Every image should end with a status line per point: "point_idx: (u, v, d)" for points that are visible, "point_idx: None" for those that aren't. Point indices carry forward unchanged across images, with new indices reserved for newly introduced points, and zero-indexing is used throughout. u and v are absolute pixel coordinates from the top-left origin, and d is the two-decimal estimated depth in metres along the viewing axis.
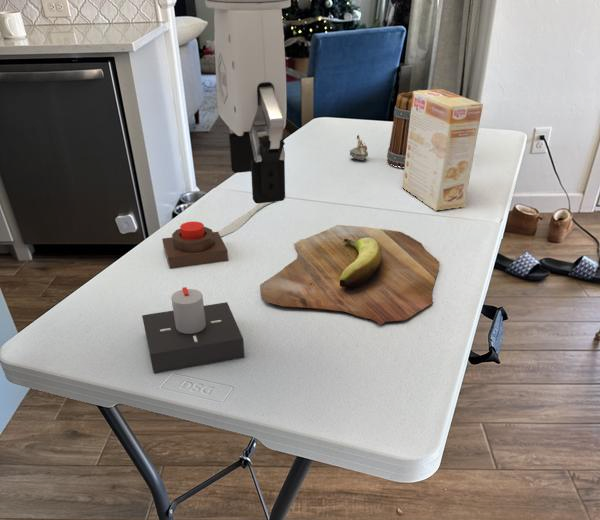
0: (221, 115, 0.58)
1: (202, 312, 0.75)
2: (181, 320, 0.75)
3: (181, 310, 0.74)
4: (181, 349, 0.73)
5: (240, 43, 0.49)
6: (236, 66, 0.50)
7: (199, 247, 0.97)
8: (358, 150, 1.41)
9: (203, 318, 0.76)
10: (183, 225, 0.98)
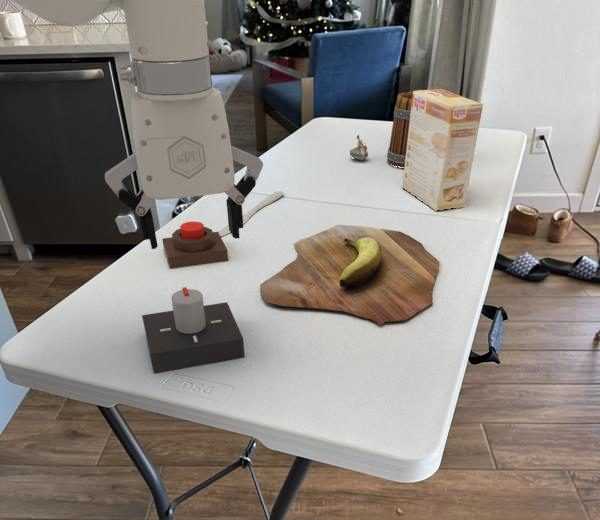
0: (171, 194, 0.62)
1: (202, 312, 0.75)
2: (181, 320, 0.75)
3: (181, 310, 0.74)
4: (181, 349, 0.73)
5: (225, 117, 0.60)
6: (227, 135, 0.60)
7: (199, 247, 0.97)
8: (358, 150, 1.41)
9: (203, 318, 0.76)
10: (183, 225, 0.98)
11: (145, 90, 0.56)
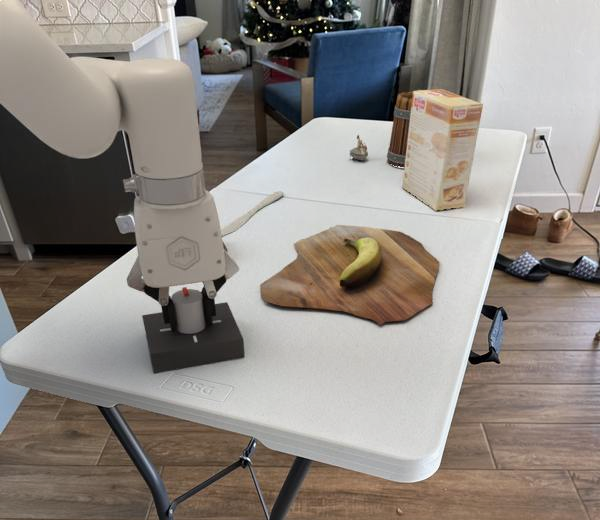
0: (169, 283, 0.70)
1: (202, 312, 0.75)
2: (181, 320, 0.75)
3: (181, 310, 0.74)
4: (181, 349, 0.73)
5: (217, 218, 0.67)
6: (219, 233, 0.68)
7: None
8: (358, 150, 1.41)
9: (203, 318, 0.76)
10: None
11: (146, 200, 0.64)
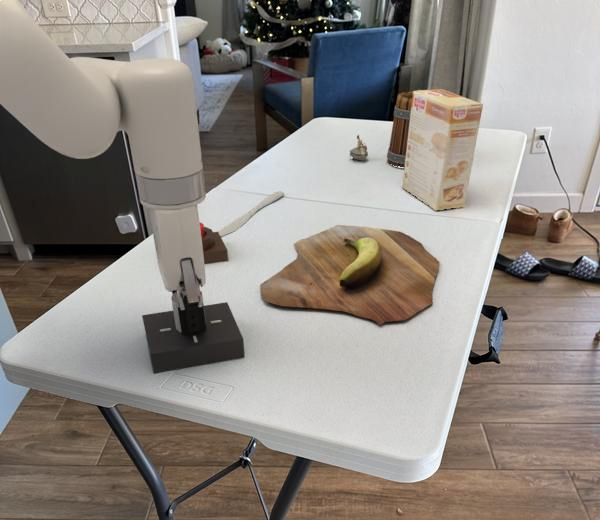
0: (158, 266, 0.73)
1: None
2: None
3: None
4: (181, 349, 0.73)
5: (164, 233, 0.64)
6: (162, 248, 0.65)
7: None
8: (358, 150, 1.41)
9: None
10: None
11: None
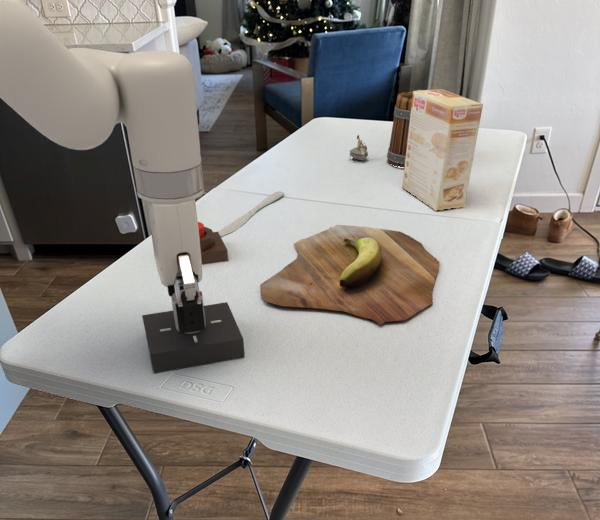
0: (155, 261, 0.73)
1: None
2: None
3: None
4: (181, 349, 0.73)
5: (161, 227, 0.63)
6: (159, 242, 0.64)
7: None
8: (358, 150, 1.41)
9: None
10: None
11: None
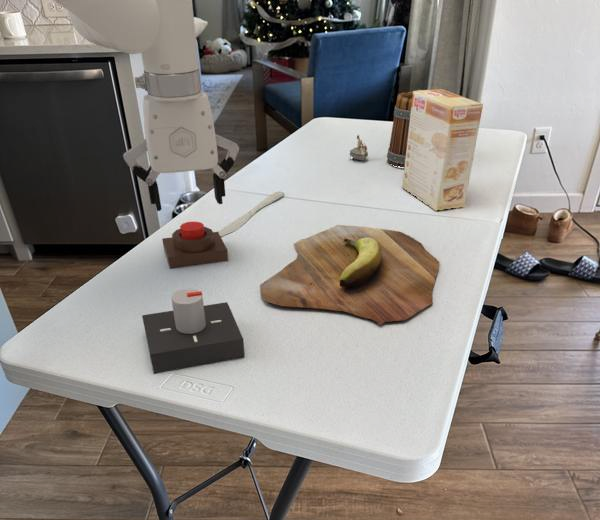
0: (171, 169, 0.85)
1: (181, 317, 0.74)
2: None
3: None
4: (181, 349, 0.73)
5: (210, 113, 0.83)
6: (212, 126, 0.84)
7: (199, 247, 0.97)
8: (358, 150, 1.41)
9: (183, 323, 0.75)
10: (183, 225, 0.98)
11: (153, 94, 0.79)
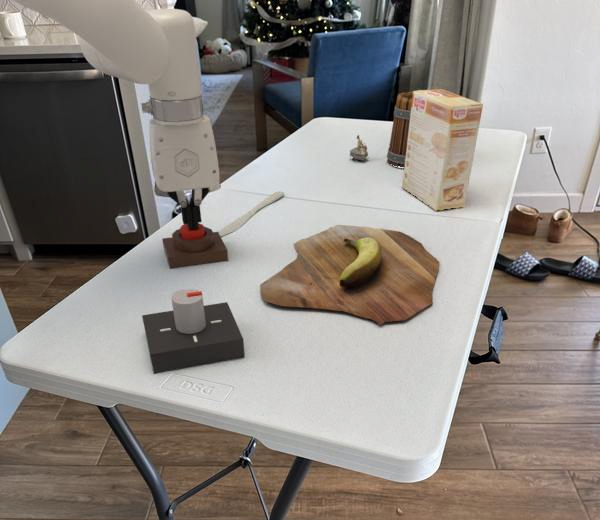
0: (176, 187, 0.90)
1: (181, 317, 0.74)
2: None
3: None
4: (181, 349, 0.73)
5: (212, 135, 0.88)
6: (214, 147, 0.89)
7: (199, 247, 0.97)
8: (358, 150, 1.41)
9: (183, 323, 0.75)
10: (183, 226, 0.98)
11: (159, 118, 0.84)
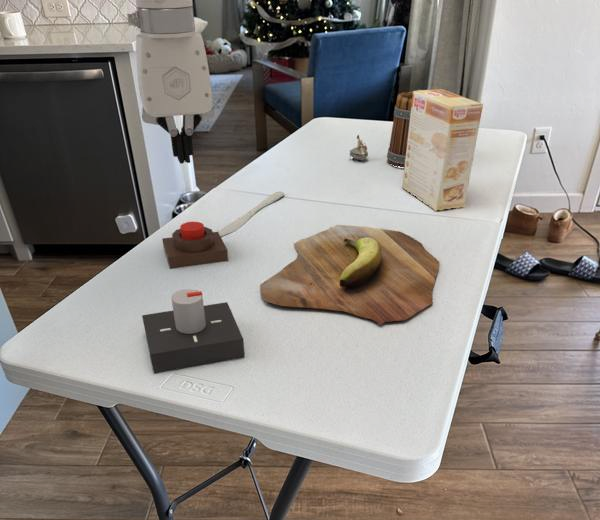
0: (165, 112, 0.84)
1: (181, 317, 0.74)
2: None
3: None
4: (181, 349, 0.73)
5: (205, 53, 0.81)
6: (206, 67, 0.82)
7: (199, 247, 0.97)
8: (358, 150, 1.41)
9: (183, 323, 0.75)
10: (183, 225, 0.98)
11: (146, 30, 0.78)
